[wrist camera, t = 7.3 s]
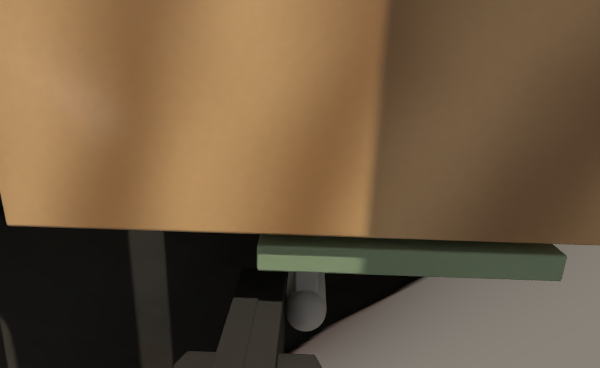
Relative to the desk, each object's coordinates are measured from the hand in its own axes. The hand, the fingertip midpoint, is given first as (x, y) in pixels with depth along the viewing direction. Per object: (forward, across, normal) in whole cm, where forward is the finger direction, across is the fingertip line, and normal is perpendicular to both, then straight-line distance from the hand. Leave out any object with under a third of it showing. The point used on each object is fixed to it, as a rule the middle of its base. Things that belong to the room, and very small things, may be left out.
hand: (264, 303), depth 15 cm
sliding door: (+9, +4, +1) cm, 10 cm away
